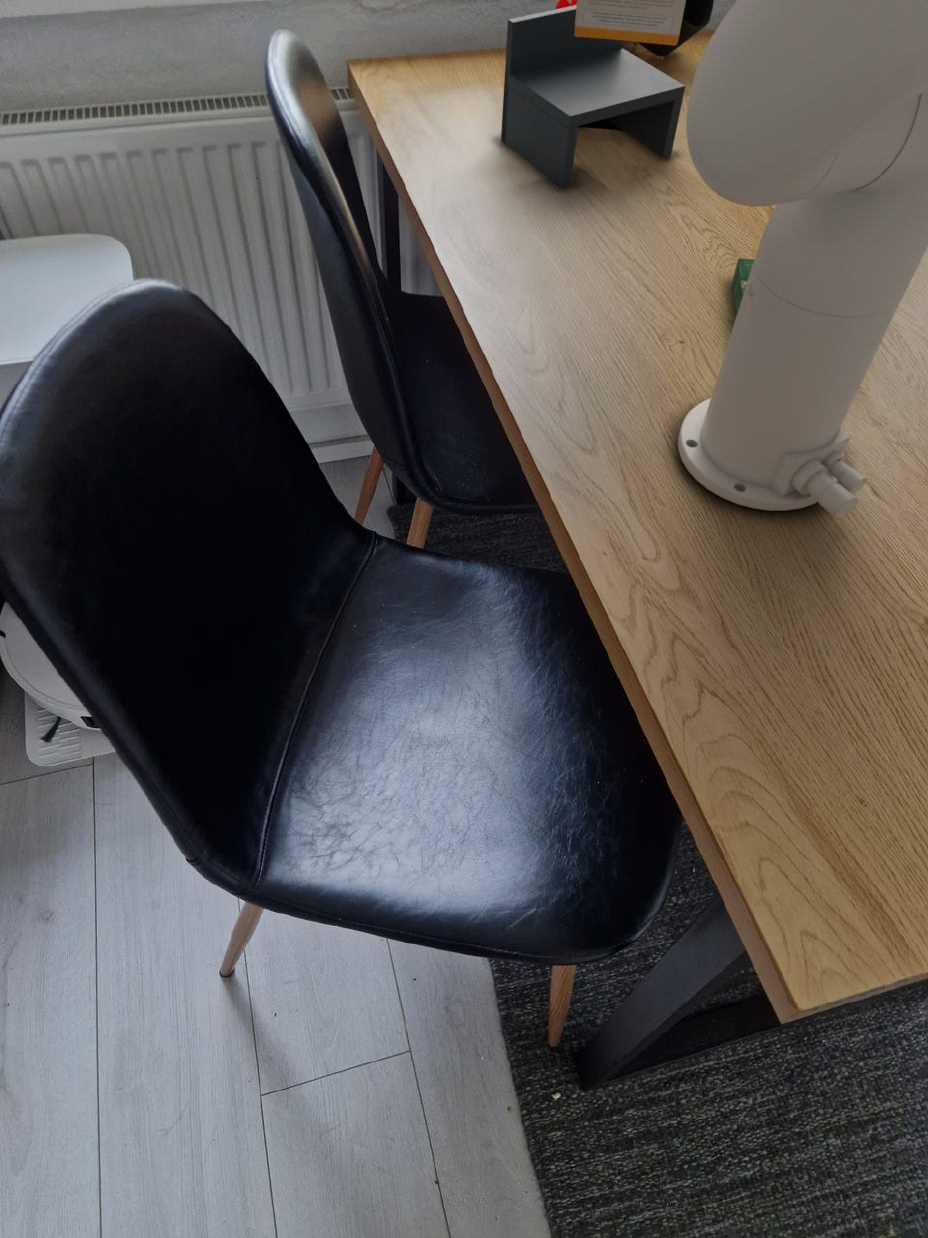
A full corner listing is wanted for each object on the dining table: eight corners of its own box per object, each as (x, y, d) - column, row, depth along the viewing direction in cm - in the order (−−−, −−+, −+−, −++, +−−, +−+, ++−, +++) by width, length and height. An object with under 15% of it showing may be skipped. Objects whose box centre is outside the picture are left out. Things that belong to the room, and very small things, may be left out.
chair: (671, 155, 98) (696, 33, 89) (561, 187, 94) (576, 63, 84) (606, 112, 104) (623, -6, 95) (500, 140, 100) (507, 19, 90)
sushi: (720, -23, 109) (676, 13, 116) (669, -60, 105) (627, -20, 112) (709, 39, 108) (666, 72, 115) (657, 5, 104) (615, 41, 111)
